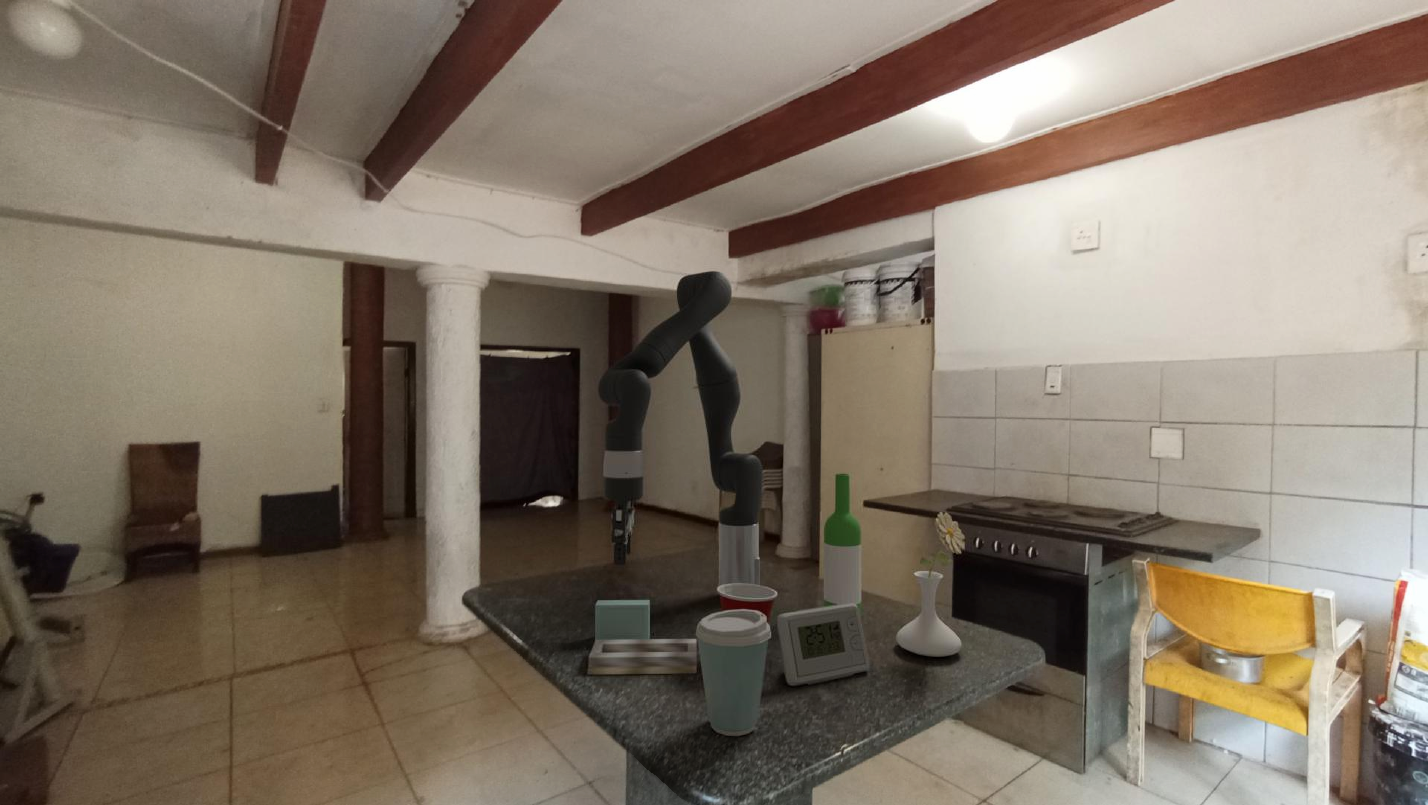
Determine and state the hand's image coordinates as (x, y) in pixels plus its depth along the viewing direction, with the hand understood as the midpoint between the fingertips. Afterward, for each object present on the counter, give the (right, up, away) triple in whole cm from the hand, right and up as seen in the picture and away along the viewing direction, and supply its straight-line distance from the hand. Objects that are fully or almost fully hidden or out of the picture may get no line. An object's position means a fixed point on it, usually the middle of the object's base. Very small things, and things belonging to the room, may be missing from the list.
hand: (622, 559), depth 121 cm
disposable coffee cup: (+20, -15, -32) cm, 41 cm away
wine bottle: (+45, -16, +13) cm, 49 cm away
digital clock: (+36, -15, -16) cm, 42 cm away
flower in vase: (+57, -16, -5) cm, 59 cm away
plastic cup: (+23, -15, -8) cm, 29 cm away
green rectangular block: (0, -15, 0) cm, 15 cm away
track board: (+5, -15, -11) cm, 19 cm away
